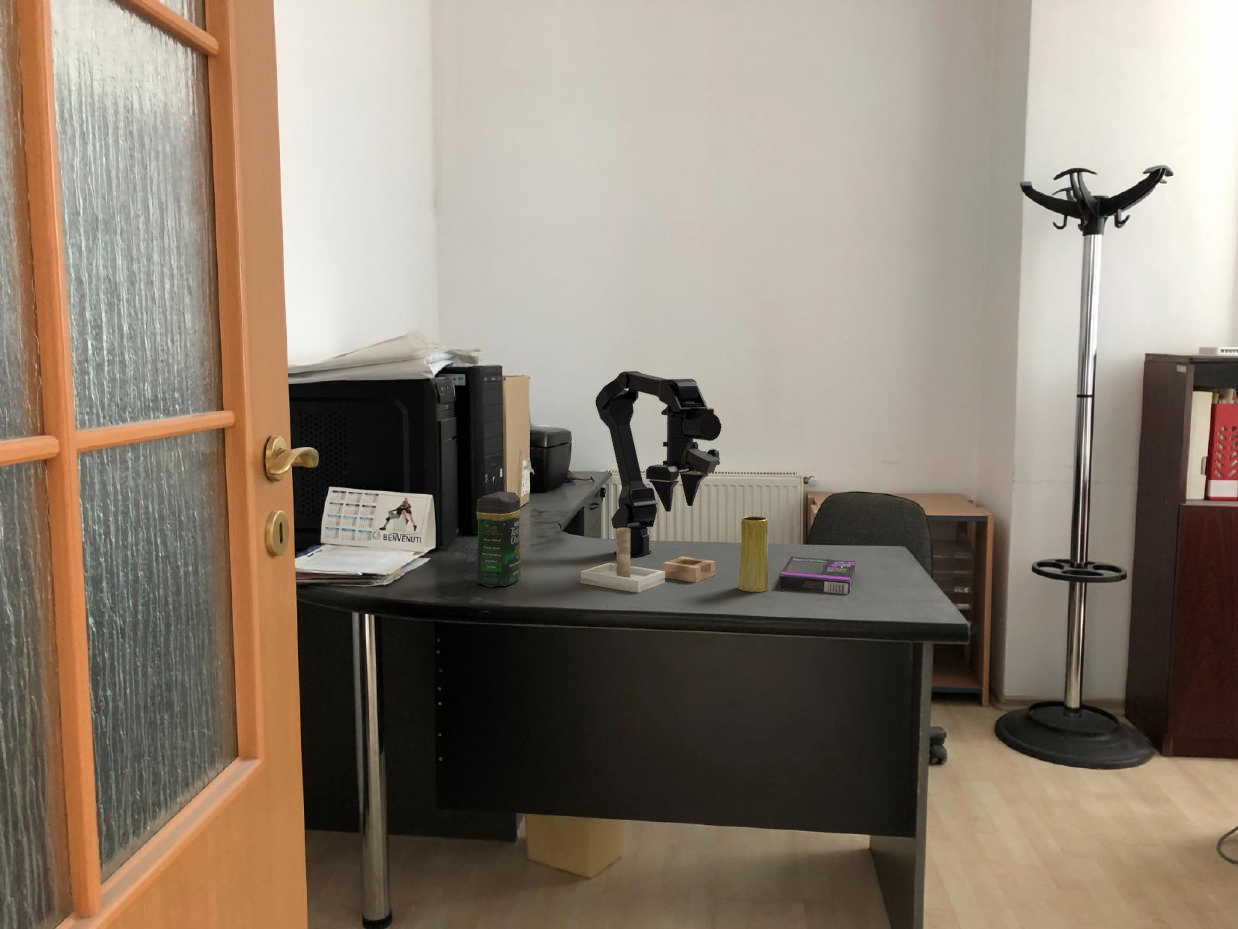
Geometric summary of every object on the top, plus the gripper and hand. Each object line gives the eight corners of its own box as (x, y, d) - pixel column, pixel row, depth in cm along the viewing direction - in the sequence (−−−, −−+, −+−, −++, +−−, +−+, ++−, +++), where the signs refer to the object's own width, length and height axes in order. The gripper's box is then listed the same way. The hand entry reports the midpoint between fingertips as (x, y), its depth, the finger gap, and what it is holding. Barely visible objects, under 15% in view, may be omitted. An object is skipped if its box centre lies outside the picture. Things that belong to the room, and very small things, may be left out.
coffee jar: (507, 589, 196) (507, 496, 194) (471, 586, 199) (470, 495, 196) (526, 578, 205) (525, 490, 203) (491, 575, 208) (490, 488, 206)
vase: (732, 586, 199) (733, 516, 198) (759, 584, 202) (760, 515, 200) (746, 593, 194) (748, 521, 192) (774, 591, 196) (776, 520, 194)
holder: (662, 577, 207) (662, 563, 207) (682, 570, 214) (682, 556, 213) (696, 582, 203) (696, 568, 202) (714, 575, 209) (715, 561, 209)
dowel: (613, 577, 201) (613, 529, 200) (621, 575, 204) (621, 527, 202) (625, 579, 200) (625, 530, 199) (632, 576, 202) (633, 528, 201)
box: (849, 598, 194) (855, 575, 212) (850, 581, 193) (856, 559, 212) (778, 592, 198) (790, 569, 216) (778, 575, 197) (791, 553, 216)
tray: (580, 583, 202) (580, 571, 201) (608, 573, 210) (608, 562, 210) (638, 592, 194) (638, 580, 194) (665, 582, 202) (665, 571, 202)
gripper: (690, 442, 201) (689, 518, 203) (733, 436, 216) (732, 506, 218) (644, 439, 207) (644, 513, 209) (689, 433, 222) (688, 502, 224)
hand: (679, 508), depth 215 cm, fingers open, 9 cm apart
